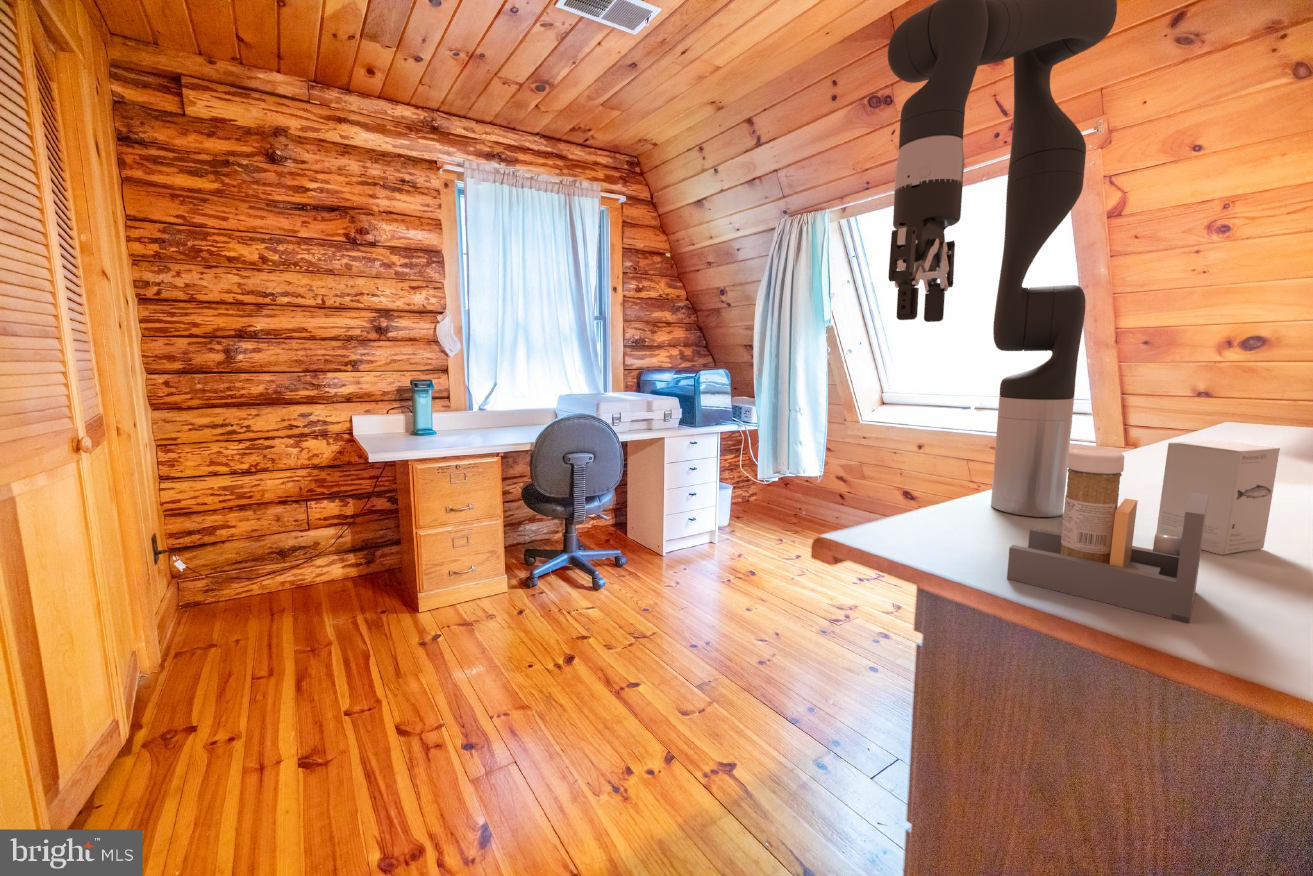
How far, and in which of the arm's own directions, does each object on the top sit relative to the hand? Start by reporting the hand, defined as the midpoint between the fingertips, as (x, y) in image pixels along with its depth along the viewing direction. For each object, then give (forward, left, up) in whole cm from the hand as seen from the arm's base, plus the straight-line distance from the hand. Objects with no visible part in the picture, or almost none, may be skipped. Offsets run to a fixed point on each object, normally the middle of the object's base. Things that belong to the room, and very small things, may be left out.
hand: (920, 320), depth 70 cm
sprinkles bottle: (+3, +19, -28) cm, 34 cm away
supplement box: (-22, +28, -28) cm, 45 cm away
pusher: (+3, +23, -27) cm, 36 cm away
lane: (+3, +20, -28) cm, 35 cm away
